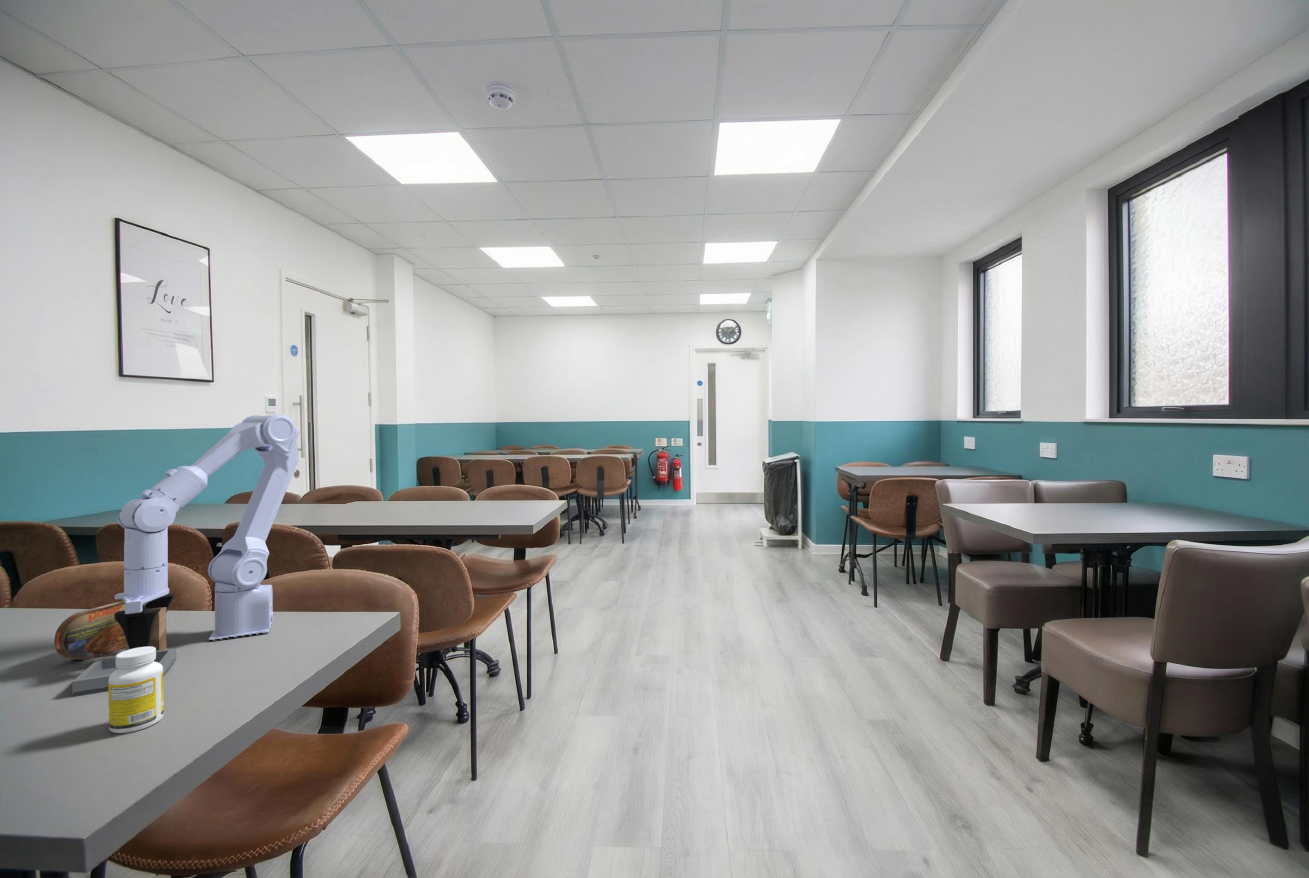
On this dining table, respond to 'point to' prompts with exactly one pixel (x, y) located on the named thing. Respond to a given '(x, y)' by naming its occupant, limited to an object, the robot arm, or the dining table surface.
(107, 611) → the tin
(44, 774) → the dining table surface
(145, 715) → the supplement bottle
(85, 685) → the tray
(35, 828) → the dining table surface
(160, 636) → the block
